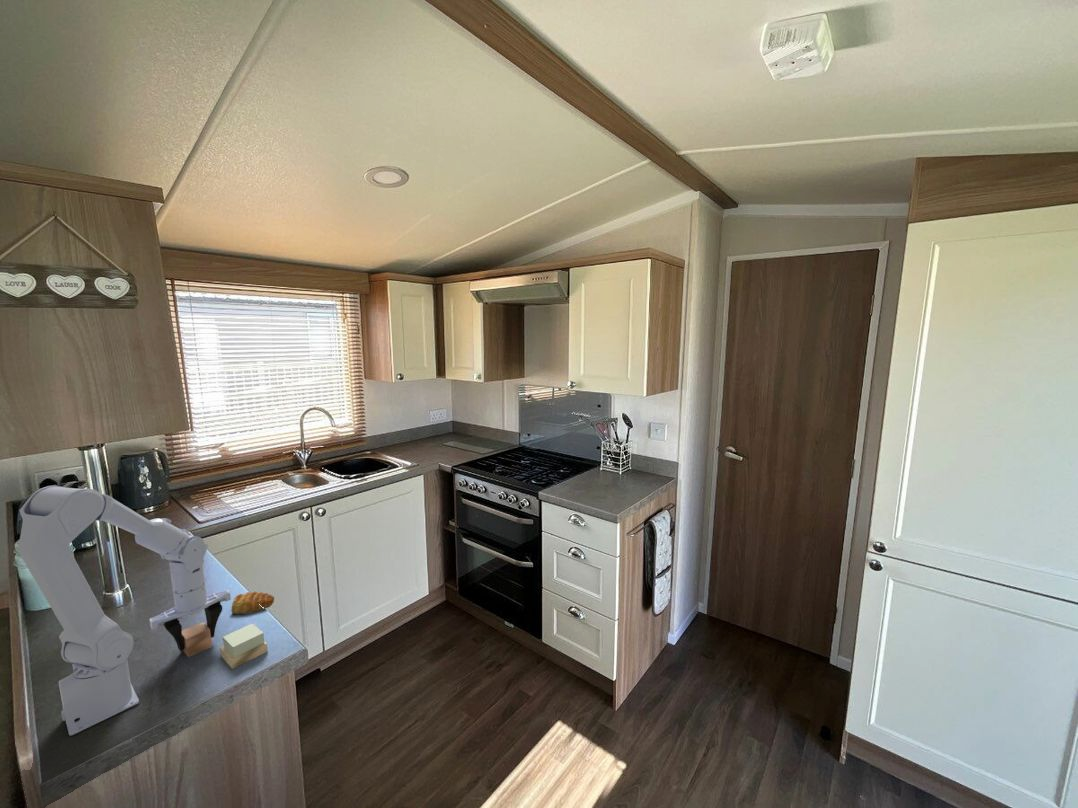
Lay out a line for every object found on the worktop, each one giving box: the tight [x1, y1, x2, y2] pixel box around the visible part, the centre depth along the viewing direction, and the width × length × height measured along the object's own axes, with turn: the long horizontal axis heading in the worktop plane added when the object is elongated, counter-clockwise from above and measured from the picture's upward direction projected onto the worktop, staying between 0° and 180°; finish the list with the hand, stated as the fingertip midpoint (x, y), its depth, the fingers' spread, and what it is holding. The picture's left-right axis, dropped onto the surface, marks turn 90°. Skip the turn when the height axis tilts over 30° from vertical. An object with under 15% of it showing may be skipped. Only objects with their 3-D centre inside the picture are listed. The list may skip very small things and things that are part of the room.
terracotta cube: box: [182, 621, 213, 658], centre depth 103 cm, size 4×4×4 cm
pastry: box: [231, 591, 275, 615], centre depth 119 cm, size 9×7×4 cm
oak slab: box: [219, 640, 268, 670], centre depth 101 cm, size 7×7×2 cm
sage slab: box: [222, 623, 266, 658], centre depth 101 cm, size 6×6×2 cm
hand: (196, 642), depth 103 cm, fingers open, 5 cm apart
